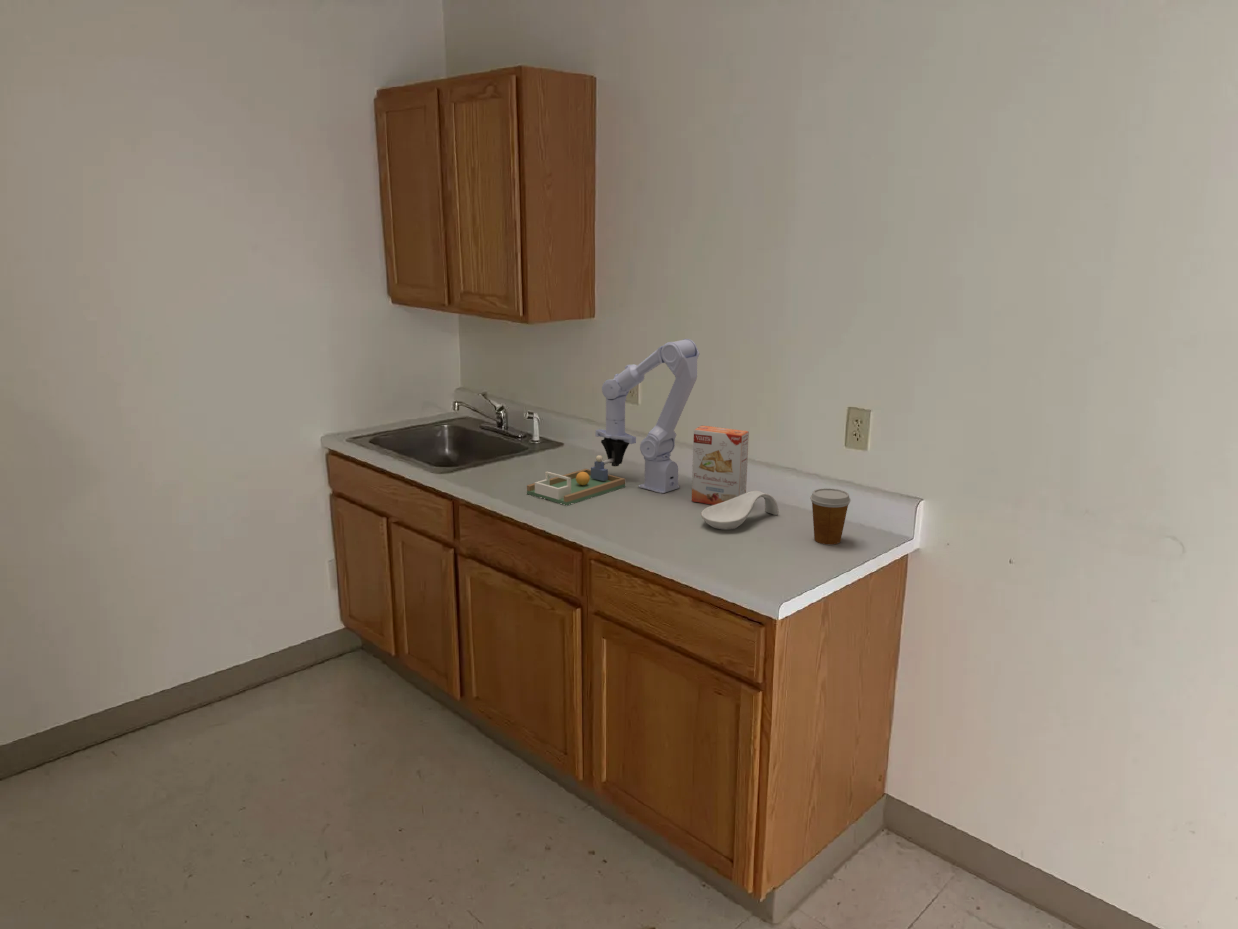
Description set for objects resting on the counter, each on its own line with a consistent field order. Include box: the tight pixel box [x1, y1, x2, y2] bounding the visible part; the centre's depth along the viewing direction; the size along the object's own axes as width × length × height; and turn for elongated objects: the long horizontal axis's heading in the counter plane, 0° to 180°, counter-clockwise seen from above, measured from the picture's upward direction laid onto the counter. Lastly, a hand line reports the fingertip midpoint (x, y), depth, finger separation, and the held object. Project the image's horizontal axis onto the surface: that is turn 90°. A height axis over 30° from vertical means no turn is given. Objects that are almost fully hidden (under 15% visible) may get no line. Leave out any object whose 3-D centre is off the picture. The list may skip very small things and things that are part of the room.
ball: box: [576, 472, 590, 485], centre depth 259 cm, size 4×4×4 cm
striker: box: [590, 450, 620, 481], centre depth 266 cm, size 5×9×7 cm, turn 138°
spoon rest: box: [700, 490, 780, 531], centre depth 231 cm, size 24×12×7 cm, turn 128°
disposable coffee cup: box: [809, 487, 852, 546], centre depth 217 cm, size 10×10×12 cm
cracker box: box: [691, 425, 750, 506], centre depth 244 cm, size 14×6×21 cm, turn 62°
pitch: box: [526, 468, 626, 506], centre depth 257 cm, size 16×24×6 cm, turn 138°
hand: (615, 463), depth 268 cm, fingers closed on striker, 2 cm apart
